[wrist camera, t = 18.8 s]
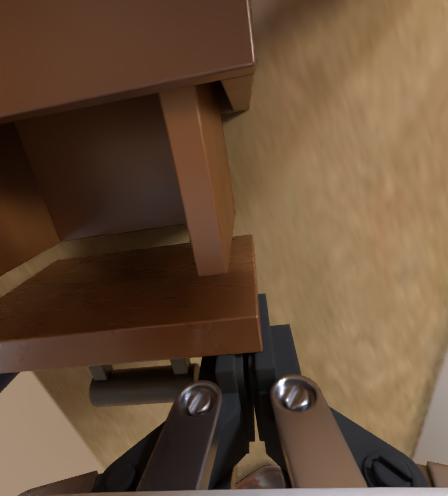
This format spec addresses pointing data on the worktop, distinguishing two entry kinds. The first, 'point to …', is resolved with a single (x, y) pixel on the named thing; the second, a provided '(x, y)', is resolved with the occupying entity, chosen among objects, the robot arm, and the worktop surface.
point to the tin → (263, 479)
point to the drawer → (128, 262)
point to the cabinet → (121, 52)
